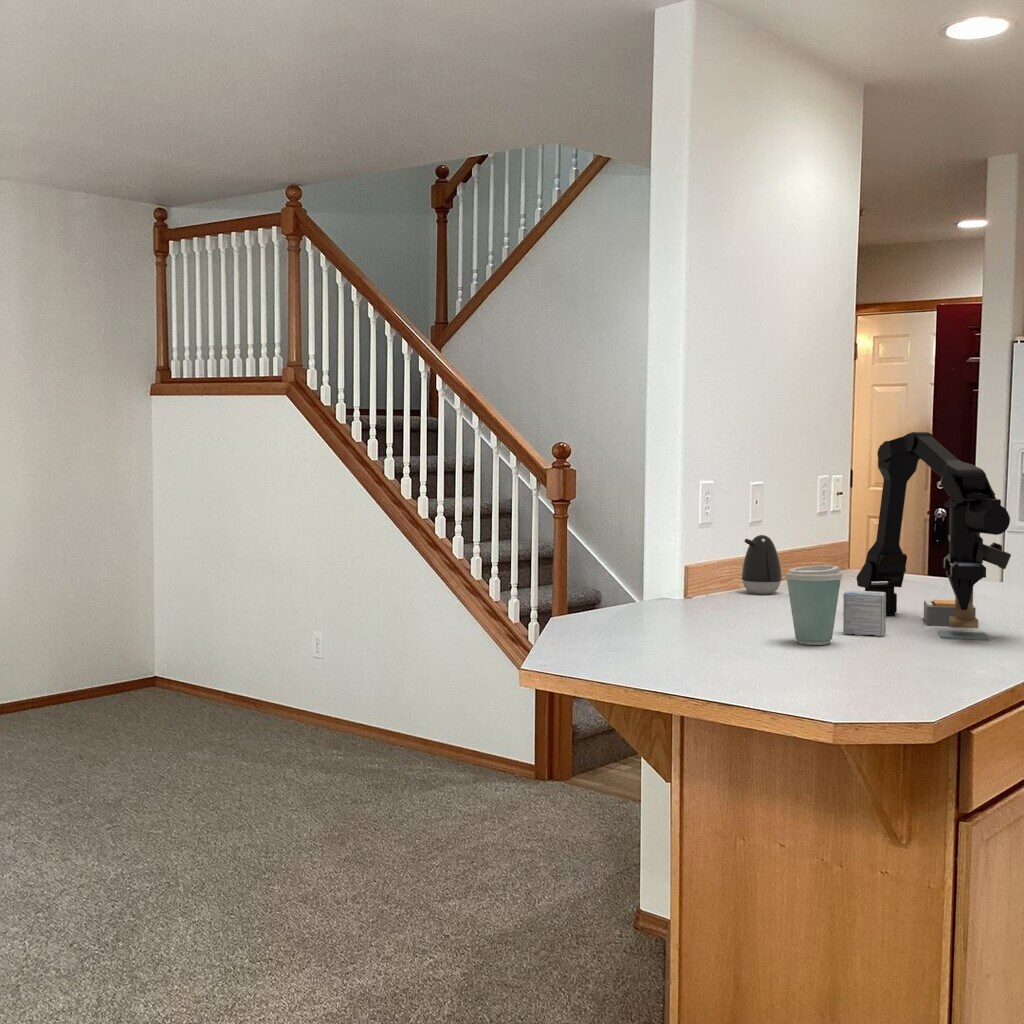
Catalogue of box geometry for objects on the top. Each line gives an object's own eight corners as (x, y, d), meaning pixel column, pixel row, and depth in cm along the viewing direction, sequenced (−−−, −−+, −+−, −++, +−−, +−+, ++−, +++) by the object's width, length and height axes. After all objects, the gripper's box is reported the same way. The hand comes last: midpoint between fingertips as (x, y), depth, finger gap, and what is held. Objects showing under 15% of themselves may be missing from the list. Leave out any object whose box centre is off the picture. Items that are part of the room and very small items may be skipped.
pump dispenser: (732, 592, 305) (733, 534, 304) (765, 590, 310) (765, 532, 309) (756, 596, 296) (757, 537, 295) (789, 594, 300) (790, 535, 300)
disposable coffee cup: (802, 648, 221) (803, 570, 221) (774, 639, 232) (775, 564, 231) (851, 646, 224) (852, 568, 223) (822, 637, 235) (823, 562, 234)
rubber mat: (940, 638, 233) (940, 636, 233) (937, 632, 239) (937, 630, 239) (989, 640, 230) (989, 637, 230) (984, 634, 237) (984, 632, 237)
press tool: (951, 627, 233) (952, 585, 232) (949, 623, 238) (949, 582, 237) (978, 628, 232) (979, 585, 231) (975, 624, 236) (976, 582, 236)
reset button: (935, 619, 250) (935, 603, 250) (933, 615, 256) (933, 599, 256) (965, 620, 249) (965, 604, 248) (962, 615, 254) (962, 600, 254)
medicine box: (886, 634, 238) (886, 591, 238) (883, 637, 234) (883, 594, 234) (846, 631, 242) (846, 590, 241) (842, 634, 238) (843, 592, 237)
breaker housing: (927, 625, 249) (927, 605, 249) (923, 618, 258) (923, 599, 258) (975, 626, 247) (975, 607, 246) (969, 620, 256) (970, 601, 256)
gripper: (1015, 535, 222) (1013, 616, 223) (1001, 528, 240) (1000, 603, 241) (953, 534, 225) (951, 614, 226) (944, 527, 243) (942, 601, 244)
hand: (963, 608), depth 235 cm, fingers closed on press tool, 3 cm apart
